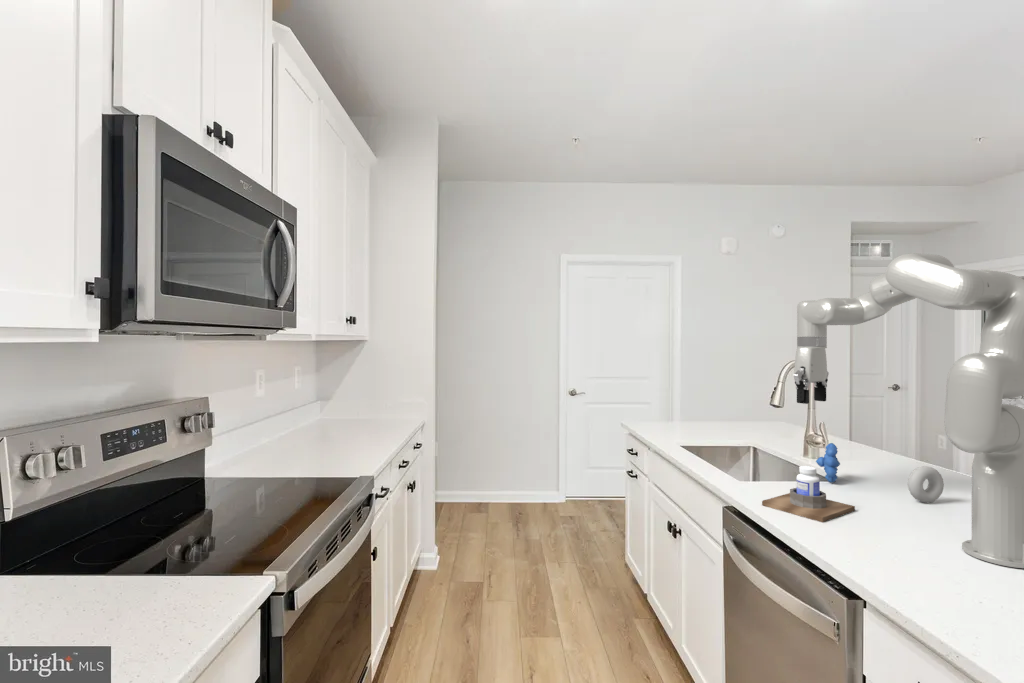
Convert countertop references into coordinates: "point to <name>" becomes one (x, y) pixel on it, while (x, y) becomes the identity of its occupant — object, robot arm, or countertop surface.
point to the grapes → (829, 462)
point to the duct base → (809, 512)
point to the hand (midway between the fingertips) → (811, 402)
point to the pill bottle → (808, 481)
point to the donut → (933, 487)
